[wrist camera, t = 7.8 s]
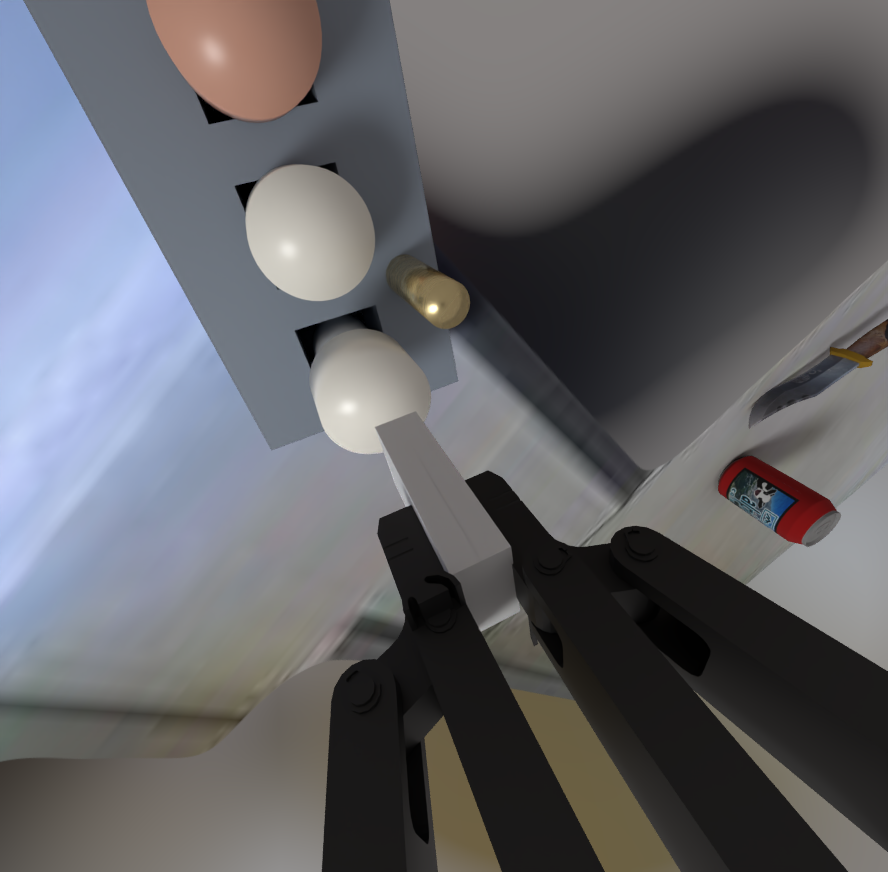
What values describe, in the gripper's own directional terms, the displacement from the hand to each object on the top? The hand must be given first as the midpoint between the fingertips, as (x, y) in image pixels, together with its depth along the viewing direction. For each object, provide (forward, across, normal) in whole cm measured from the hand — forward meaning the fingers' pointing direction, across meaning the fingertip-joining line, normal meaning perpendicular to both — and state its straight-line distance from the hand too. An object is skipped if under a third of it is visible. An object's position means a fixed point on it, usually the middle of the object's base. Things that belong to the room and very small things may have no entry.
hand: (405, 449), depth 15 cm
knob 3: (+12, 0, 0) cm, 12 cm away
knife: (+17, +54, -23) cm, 61 cm away
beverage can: (+17, +46, -38) cm, 62 cm away
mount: (+16, 0, +6) cm, 18 cm away
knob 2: (+16, 0, +6) cm, 17 cm away
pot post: (+10, +4, +3) cm, 12 cm away
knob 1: (+15, 0, +13) cm, 20 cm away
